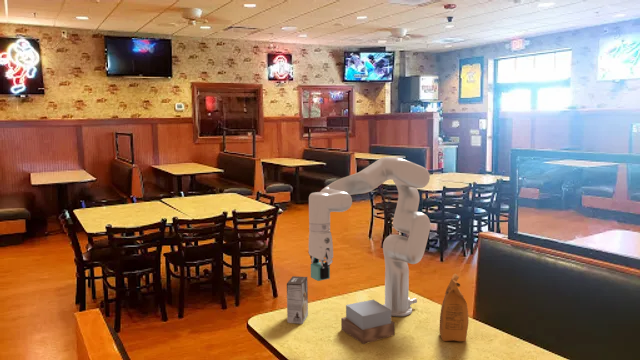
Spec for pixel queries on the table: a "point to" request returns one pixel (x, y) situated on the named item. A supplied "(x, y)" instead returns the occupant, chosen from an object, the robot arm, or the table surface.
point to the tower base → (367, 331)
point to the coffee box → (297, 300)
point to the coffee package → (454, 313)
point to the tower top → (368, 314)
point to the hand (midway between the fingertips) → (320, 275)
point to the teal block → (317, 271)
